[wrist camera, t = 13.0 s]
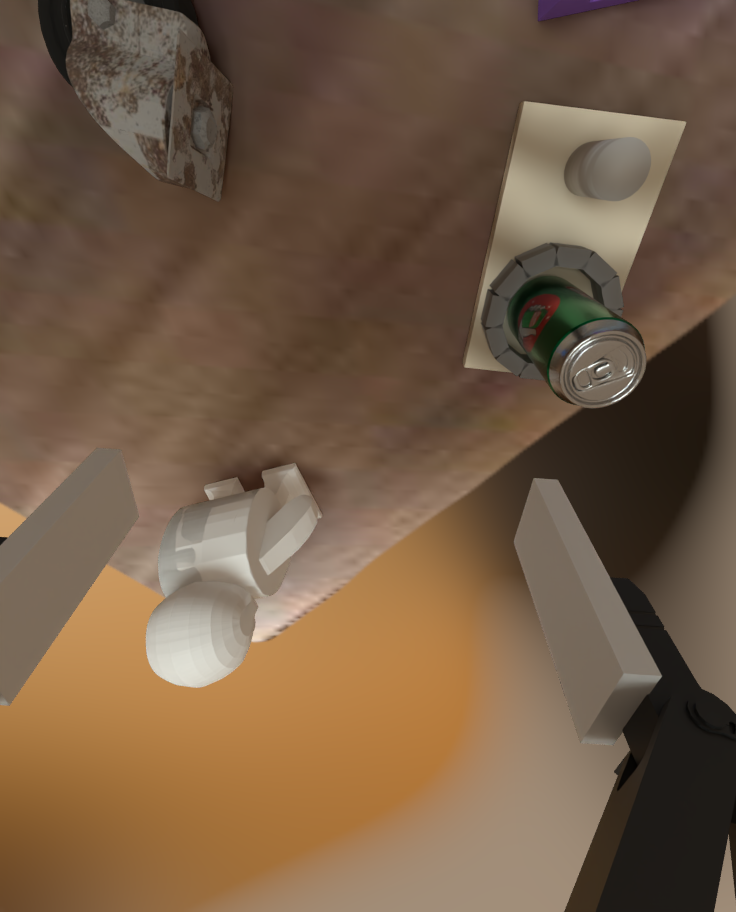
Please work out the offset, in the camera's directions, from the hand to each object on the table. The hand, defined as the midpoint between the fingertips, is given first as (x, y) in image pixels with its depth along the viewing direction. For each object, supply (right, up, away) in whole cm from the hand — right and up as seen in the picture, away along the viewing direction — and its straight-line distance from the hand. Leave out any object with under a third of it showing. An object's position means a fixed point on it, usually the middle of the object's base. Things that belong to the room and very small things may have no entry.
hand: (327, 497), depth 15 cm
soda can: (+14, +12, +19) cm, 27 cm away
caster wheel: (-12, +25, +14) cm, 31 cm away
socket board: (+15, +16, +18) cm, 28 cm away
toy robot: (-9, -2, +31) cm, 32 cm away
